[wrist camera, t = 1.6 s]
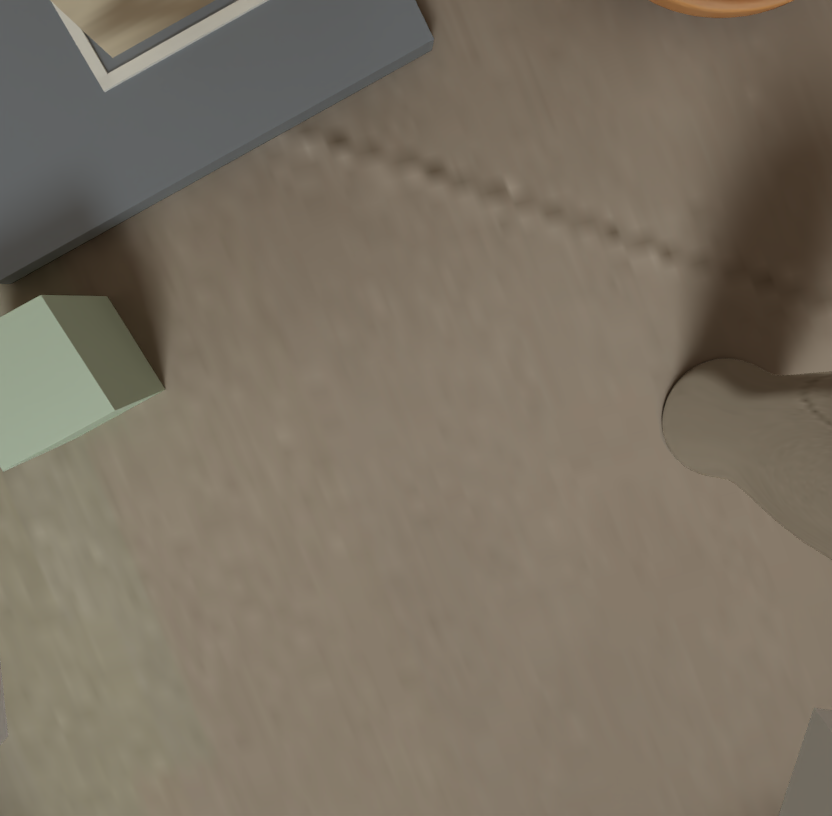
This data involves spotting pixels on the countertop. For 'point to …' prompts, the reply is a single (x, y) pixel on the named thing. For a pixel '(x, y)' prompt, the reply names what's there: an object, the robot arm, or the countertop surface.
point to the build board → (166, 104)
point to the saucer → (720, 7)
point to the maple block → (126, 19)
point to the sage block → (65, 373)
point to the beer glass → (760, 439)
